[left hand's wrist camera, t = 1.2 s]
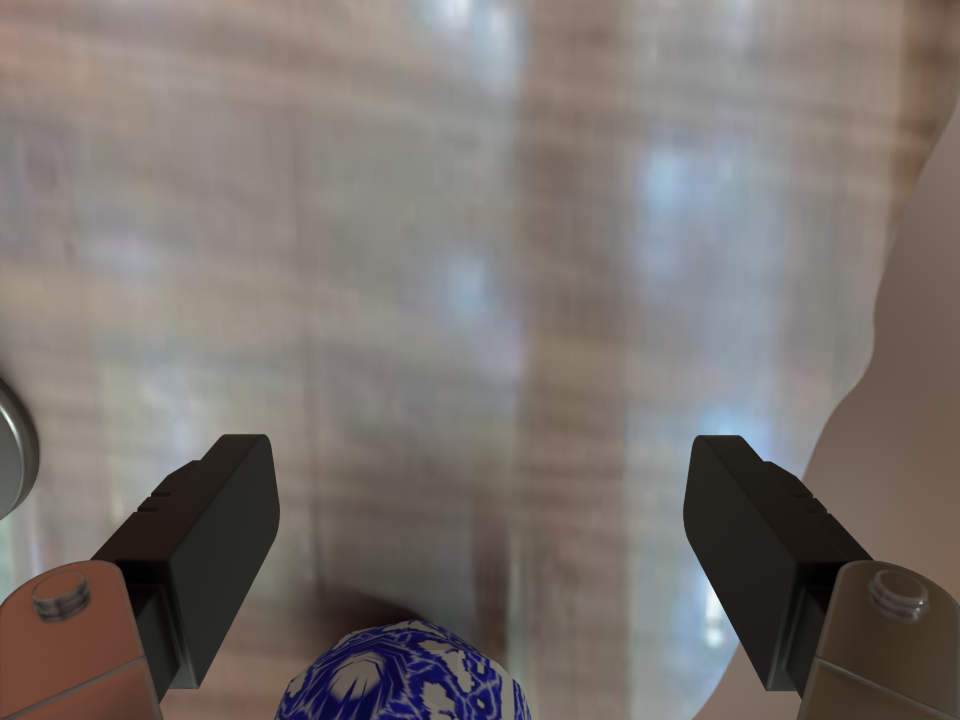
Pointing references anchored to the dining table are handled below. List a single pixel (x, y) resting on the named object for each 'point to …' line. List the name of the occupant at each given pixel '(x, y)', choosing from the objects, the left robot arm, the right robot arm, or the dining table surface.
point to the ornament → (403, 679)
